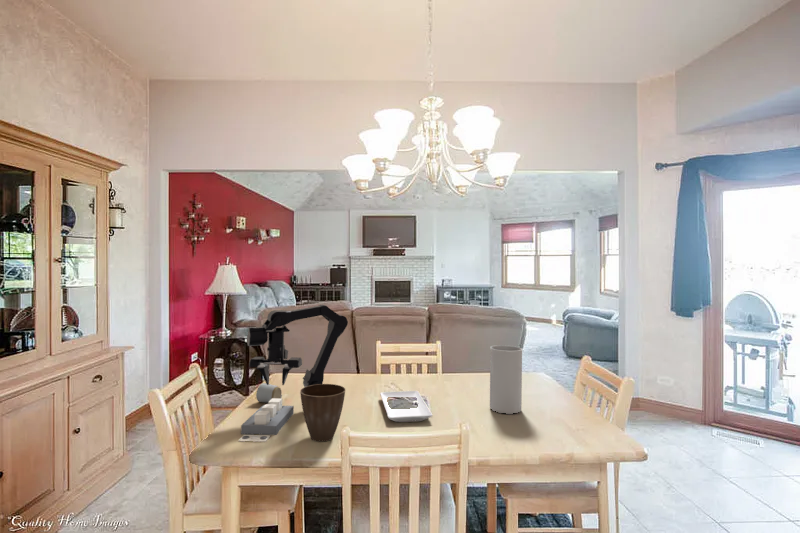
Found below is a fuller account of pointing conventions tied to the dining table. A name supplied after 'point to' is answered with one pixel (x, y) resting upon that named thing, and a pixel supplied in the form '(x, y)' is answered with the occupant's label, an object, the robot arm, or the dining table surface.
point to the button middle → (270, 409)
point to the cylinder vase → (505, 379)
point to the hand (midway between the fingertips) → (275, 384)
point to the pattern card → (255, 438)
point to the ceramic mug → (268, 392)
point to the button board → (272, 426)
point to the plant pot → (322, 409)
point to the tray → (406, 414)
